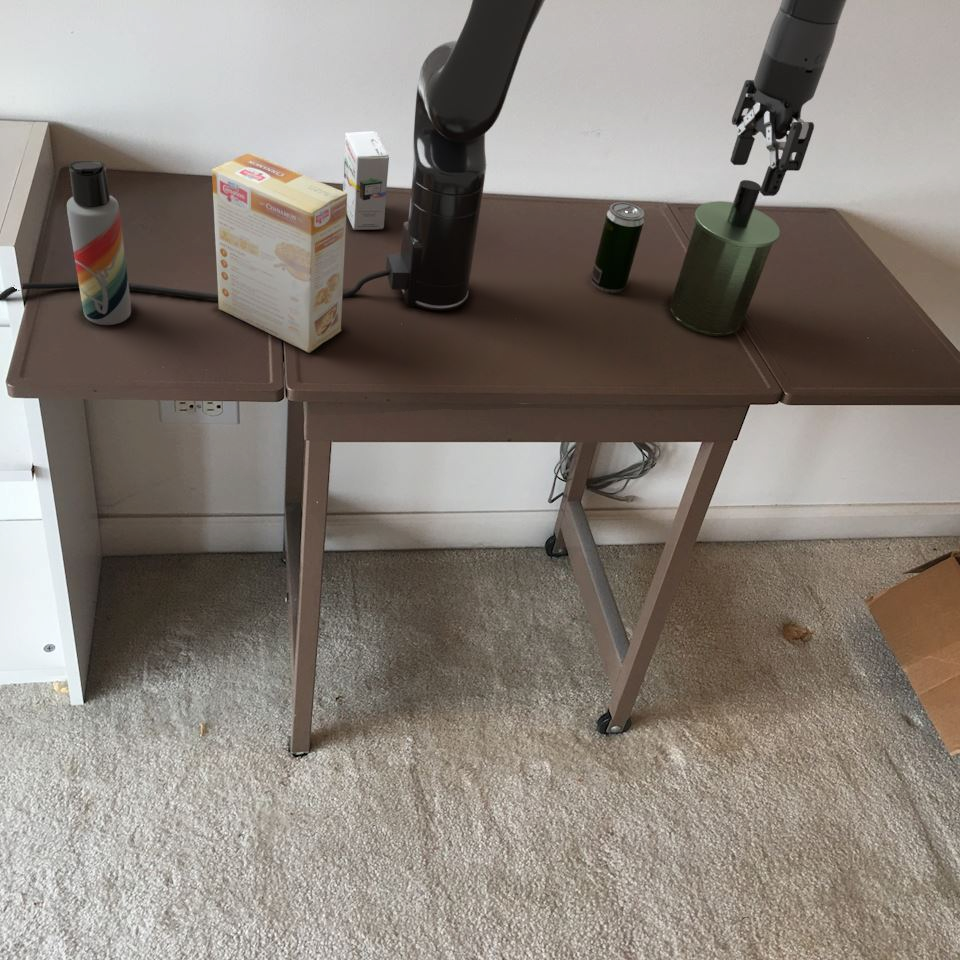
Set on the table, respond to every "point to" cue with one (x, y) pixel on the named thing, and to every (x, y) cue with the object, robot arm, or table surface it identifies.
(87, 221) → the lotion bottle
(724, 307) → the trash can
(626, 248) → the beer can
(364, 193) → the ink box
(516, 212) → the table surface
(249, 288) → the coffeecake box
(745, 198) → the bin lid
